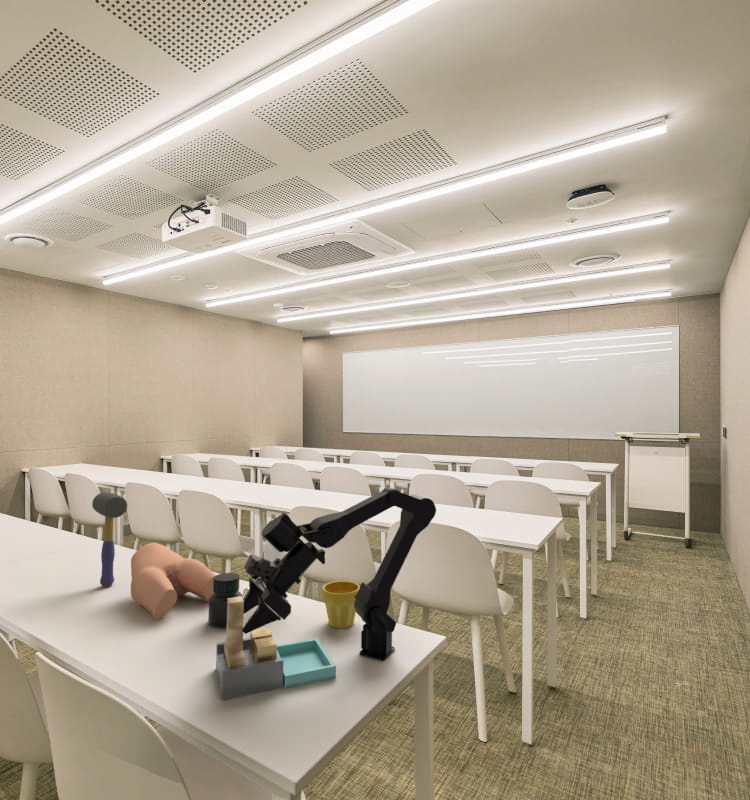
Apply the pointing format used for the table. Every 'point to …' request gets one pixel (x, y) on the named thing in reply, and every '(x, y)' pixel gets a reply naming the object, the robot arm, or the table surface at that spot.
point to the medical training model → (166, 578)
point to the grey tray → (247, 674)
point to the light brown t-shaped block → (234, 632)
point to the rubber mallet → (108, 530)
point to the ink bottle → (222, 598)
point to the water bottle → (272, 553)
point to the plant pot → (340, 602)
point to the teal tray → (305, 663)
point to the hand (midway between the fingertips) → (240, 623)
